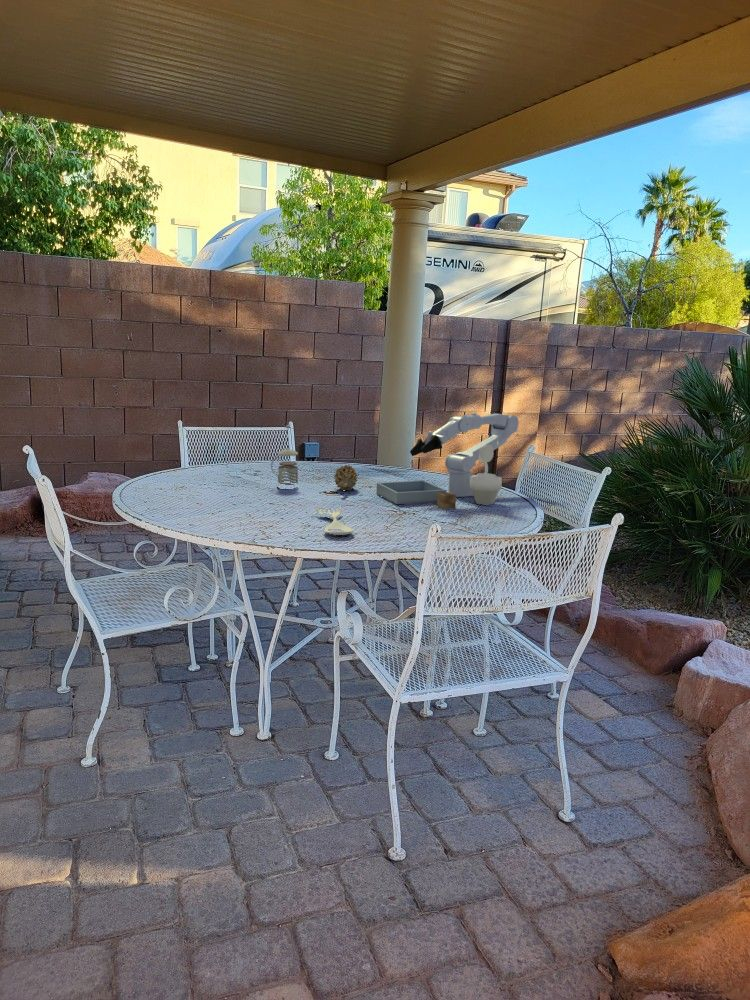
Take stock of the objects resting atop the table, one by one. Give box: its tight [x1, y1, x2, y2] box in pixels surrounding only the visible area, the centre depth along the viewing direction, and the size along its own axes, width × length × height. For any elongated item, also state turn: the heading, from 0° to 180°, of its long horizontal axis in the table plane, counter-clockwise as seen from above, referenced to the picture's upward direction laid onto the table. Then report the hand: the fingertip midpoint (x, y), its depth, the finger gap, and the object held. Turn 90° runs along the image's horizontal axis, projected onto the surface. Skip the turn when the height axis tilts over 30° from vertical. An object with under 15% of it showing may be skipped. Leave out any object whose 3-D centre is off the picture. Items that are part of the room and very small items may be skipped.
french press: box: [270, 424, 299, 485], centre depth 290 cm, size 10×12×25 cm
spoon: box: [315, 506, 355, 536], centre depth 232 cm, size 9×32×4 cm, turn 10°
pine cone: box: [333, 464, 358, 491], centre depth 285 cm, size 22×10×10 cm, turn 1°
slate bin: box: [376, 480, 448, 505], centre depth 277 cm, size 20×20×4 cm
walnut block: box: [436, 491, 457, 510], centre depth 262 cm, size 5×5×5 cm
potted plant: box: [470, 442, 504, 506], centre depth 268 cm, size 13×12×25 cm
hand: (417, 452), depth 268 cm, fingers open, 7 cm apart
